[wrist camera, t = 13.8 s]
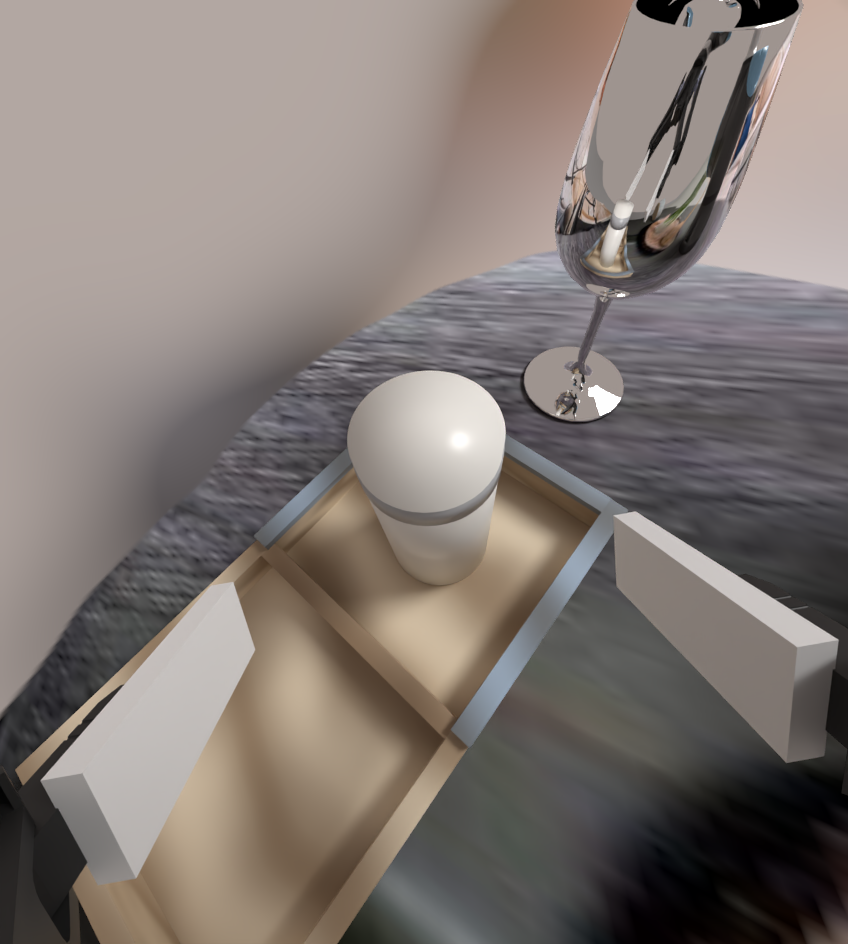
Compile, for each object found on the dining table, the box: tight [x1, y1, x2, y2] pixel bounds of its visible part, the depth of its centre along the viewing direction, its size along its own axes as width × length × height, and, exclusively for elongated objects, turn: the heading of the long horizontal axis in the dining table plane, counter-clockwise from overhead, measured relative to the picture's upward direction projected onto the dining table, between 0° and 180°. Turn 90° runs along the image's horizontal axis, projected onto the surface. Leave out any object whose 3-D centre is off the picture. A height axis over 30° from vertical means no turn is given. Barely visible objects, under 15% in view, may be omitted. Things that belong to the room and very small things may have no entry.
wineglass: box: [524, 0, 803, 422], centre depth 23 cm, size 8×8×20 cm
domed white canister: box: [347, 371, 506, 586], centre depth 20 cm, size 6×6×12 cm
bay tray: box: [16, 434, 628, 944], centre depth 22 cm, size 30×16×3 cm, turn 140°
